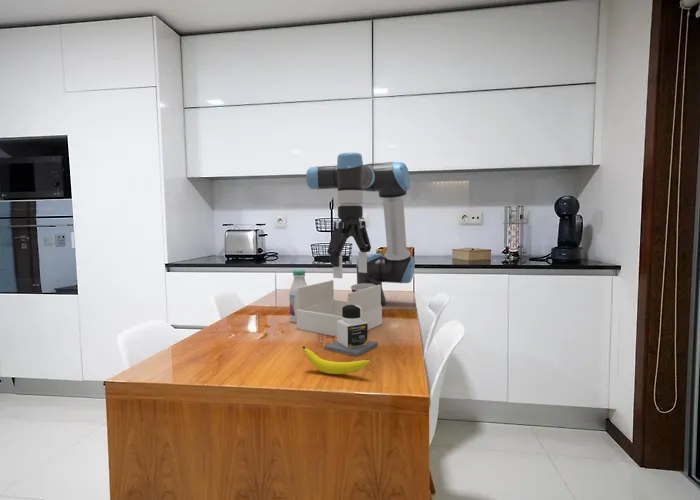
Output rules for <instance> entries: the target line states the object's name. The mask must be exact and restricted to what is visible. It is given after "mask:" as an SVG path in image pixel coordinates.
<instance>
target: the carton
mask: <svg viewBox="0 0 700 500" xmlns="http://www.w3.org/2000/svg"><path fill="white" fill-rule="evenodd" d="M334 297H335V295H334V280H333V279H331V280H327V281H323V282H317V283H313V284H309V285H308V284H307V286H304V287H299V288H298V310H297V323H296V329H297V330H301V331H306V332H311V333H316V334H321V335H326V336H331V337H336V338H337V321H338V320H343V319H342V308H343V307H344V306H346V305H358V306H360V307H361V308H362V319H361V320H363V321H365V322H367V323H368V331H369V330H371V329H373V328H376V327H377V326H380V325H382V324H383V306H382V305H381V285H377V286H373V287H370V288H366V289H363V290H359V291H356V292H352V291H351V292H349V293H347V300H342V299H334Z"/></svg>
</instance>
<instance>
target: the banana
mask: <svg viewBox="0 0 700 500" xmlns="http://www.w3.org/2000/svg"><path fill="white" fill-rule="evenodd" d="M302 349H303V350H304V353H305V356H306V357H307V359H308V361H309V363H310V364H311V365H312V366H313V367H314V369H317V370H318V371H320V372H322V373H325V374H328V375H344V374H350V373H355V372H358V371H360V370H361V369H364V367H366V366H367V365H368V364H369V363H370V362H371V360H369V359H368V360H367V359H365V360H364V359H363V360H356V361H355V360H354V361H333V360H331V361H330V360H326V359H324V358H321V357H319V356H318V354H315V353H314V352H313V351H312V350H310V349H308V348H306V346H305V345H303V346H302Z"/></svg>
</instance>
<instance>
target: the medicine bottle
mask: <svg viewBox="0 0 700 500" xmlns="http://www.w3.org/2000/svg"><path fill="white" fill-rule="evenodd" d="M342 319H343V320H338V321H337V337H336V341H337V342H338V343H339V344H341V345H343V346H345V347H346V348H353V347H358V346H363V345H367V344H368V341H369V339H368V338H369V337H368V333H369V332H368V331H369V330H368V323H367V322H365V321H363V320H361V319H362V308H361V307H360V306H358V305H346V306H344V307H343V308H342Z"/></svg>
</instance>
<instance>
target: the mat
mask: <svg viewBox="0 0 700 500" xmlns="http://www.w3.org/2000/svg"><path fill="white" fill-rule="evenodd" d="M377 346H379V342H377V341H372V340H368V344H367V345H363V346H358V347H353V348H346V347H345V346H343V345H341V344H339V343H338V342H337V340H334V341H333V342H330V343H328V344H326V345H324V346H323V350H326V351H332V352H335V353H340V354H343V355H349V356H352V357H359V356H361V355H362V354H365V353H366V352H369V351H370V350H372V349H374V348H375V347H377Z"/></svg>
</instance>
